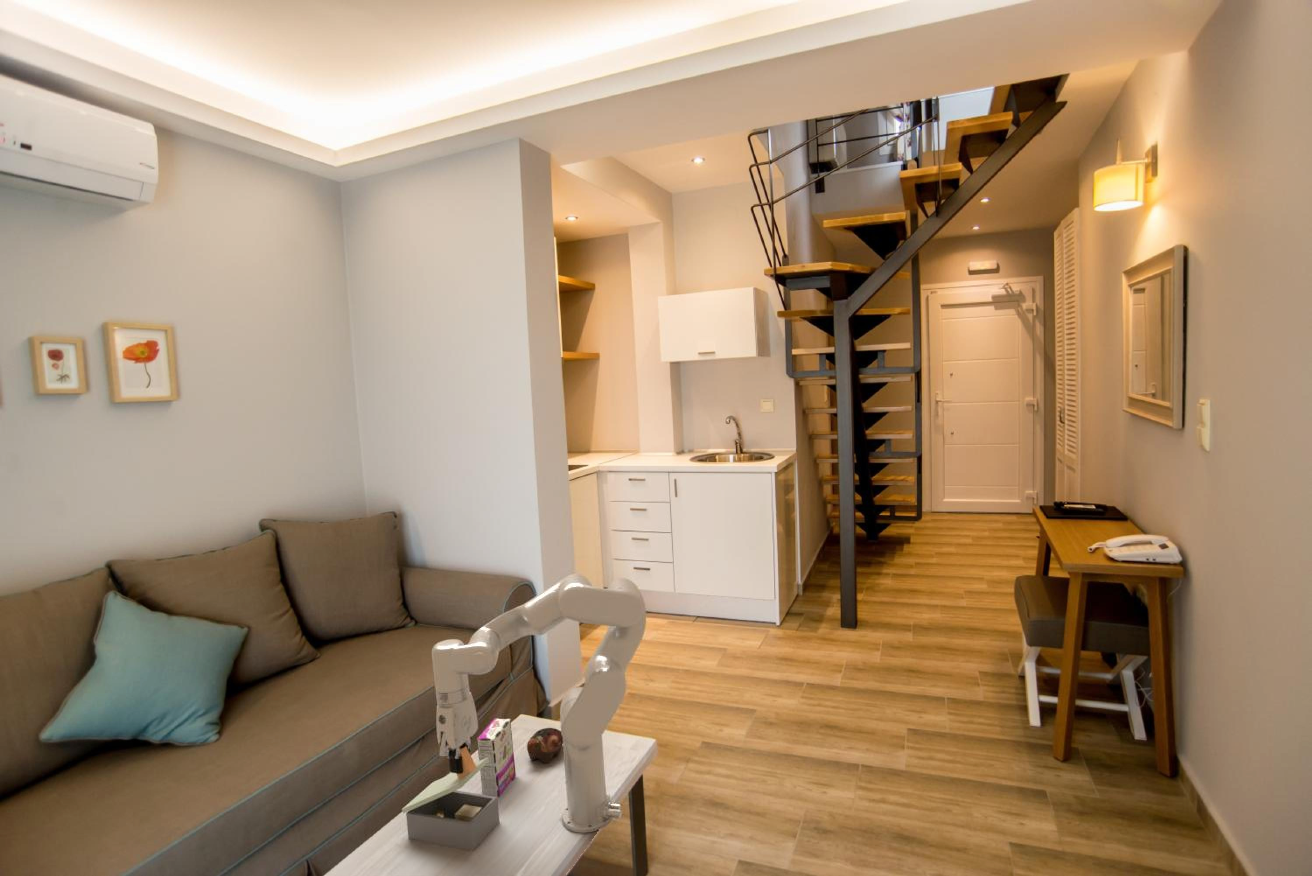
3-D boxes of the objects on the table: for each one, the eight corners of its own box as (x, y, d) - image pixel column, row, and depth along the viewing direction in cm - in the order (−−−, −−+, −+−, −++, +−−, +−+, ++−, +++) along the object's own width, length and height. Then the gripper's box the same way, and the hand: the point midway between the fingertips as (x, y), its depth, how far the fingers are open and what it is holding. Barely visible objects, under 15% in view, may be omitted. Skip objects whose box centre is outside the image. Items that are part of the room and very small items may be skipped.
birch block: (483, 823, 167) (482, 807, 167) (473, 833, 164) (472, 817, 163) (466, 820, 169) (464, 804, 169) (456, 830, 165) (454, 814, 165)
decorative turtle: (517, 768, 193) (515, 739, 193) (546, 745, 206) (544, 718, 207) (547, 772, 189) (544, 743, 189) (574, 748, 203) (572, 720, 203)
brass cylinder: (448, 827, 167) (447, 811, 166) (438, 837, 163) (436, 821, 163) (435, 824, 168) (433, 809, 168) (424, 835, 164) (422, 819, 164)
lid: (489, 761, 167) (477, 736, 168) (460, 788, 156) (447, 762, 157) (434, 785, 174) (423, 762, 174) (403, 813, 163) (391, 788, 163)
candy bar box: (499, 775, 190) (494, 717, 189) (516, 776, 189) (511, 718, 188) (481, 799, 179) (476, 738, 178) (499, 800, 178) (494, 739, 177)
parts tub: (499, 824, 168) (497, 797, 167) (473, 854, 157) (470, 825, 157) (438, 813, 174) (435, 787, 173) (408, 841, 163) (406, 813, 163)
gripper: (445, 711, 153) (453, 790, 154) (485, 680, 168) (493, 752, 170) (417, 708, 156) (426, 786, 157) (459, 678, 171) (467, 749, 172)
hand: (460, 768), depth 163 cm, fingers closed on lid, 2 cm apart
